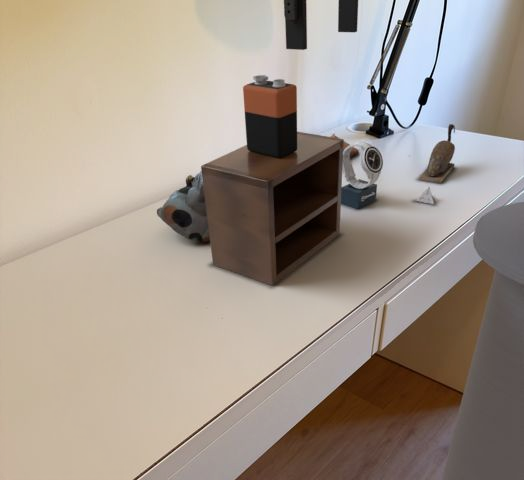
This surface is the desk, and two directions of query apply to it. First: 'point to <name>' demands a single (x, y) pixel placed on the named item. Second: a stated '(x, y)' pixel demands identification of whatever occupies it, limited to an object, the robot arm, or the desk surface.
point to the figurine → (440, 160)
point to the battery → (270, 116)
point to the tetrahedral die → (426, 197)
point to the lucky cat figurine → (187, 210)
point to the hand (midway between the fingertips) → (323, 40)
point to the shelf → (273, 206)
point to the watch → (359, 190)
